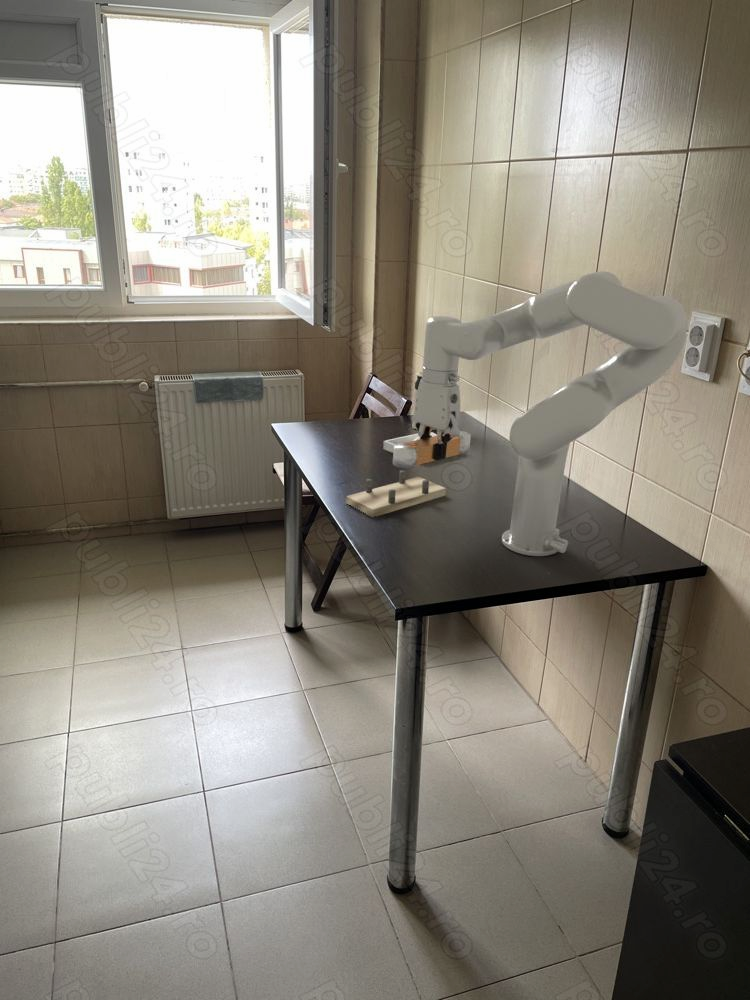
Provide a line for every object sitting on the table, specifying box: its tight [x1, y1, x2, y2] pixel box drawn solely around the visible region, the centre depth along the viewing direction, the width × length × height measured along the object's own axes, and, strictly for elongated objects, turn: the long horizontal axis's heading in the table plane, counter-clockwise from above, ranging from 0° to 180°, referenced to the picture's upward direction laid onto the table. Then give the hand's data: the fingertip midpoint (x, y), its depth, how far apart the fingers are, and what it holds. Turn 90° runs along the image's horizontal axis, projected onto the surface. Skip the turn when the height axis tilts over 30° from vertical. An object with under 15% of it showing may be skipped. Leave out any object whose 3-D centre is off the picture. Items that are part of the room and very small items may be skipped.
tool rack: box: [345, 470, 447, 518], centre depth 179 cm, size 10×24×5 cm, turn 130°
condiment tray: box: [382, 433, 419, 454], centre depth 216 cm, size 16×17×2 cm
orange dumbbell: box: [392, 430, 472, 469], centre depth 164 cm, size 5×22×4 cm, turn 131°
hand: (432, 455), depth 164 cm, fingers closed on orange dumbbell, 4 cm apart
